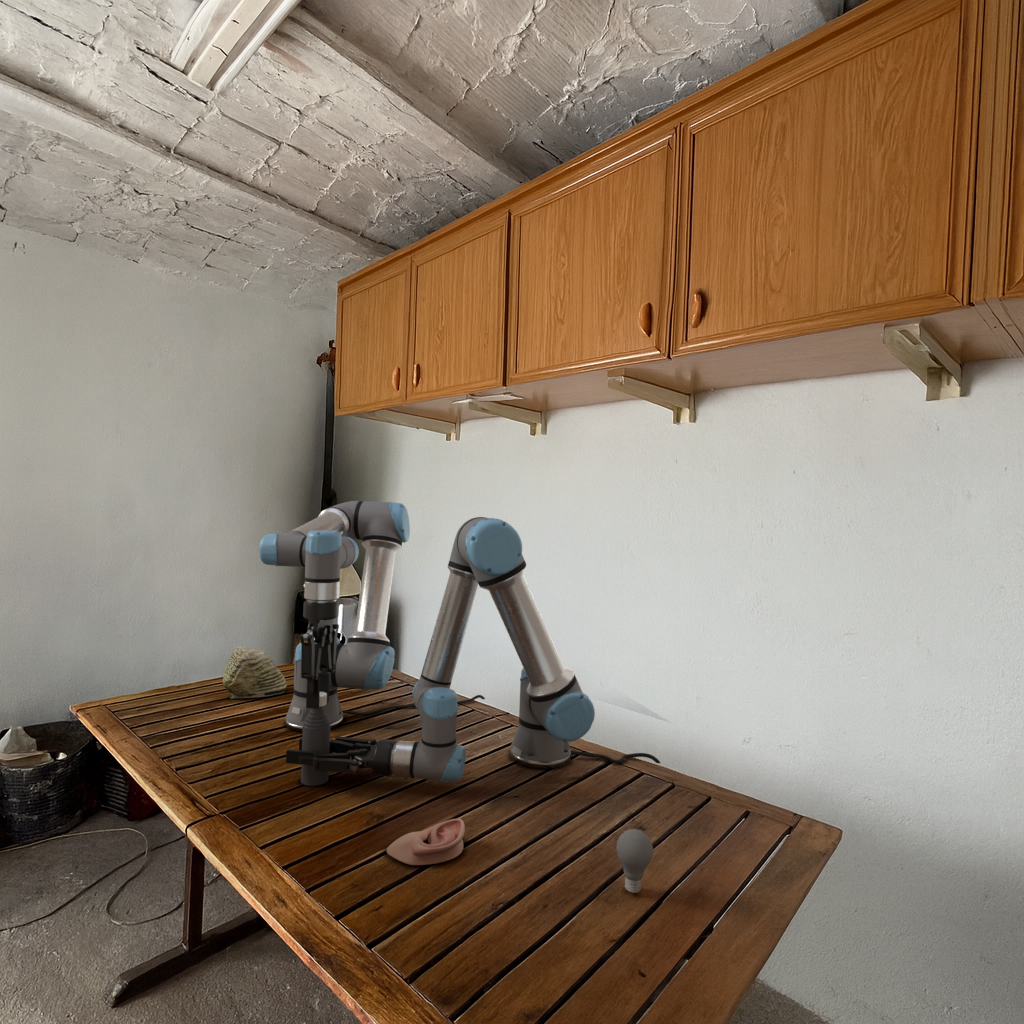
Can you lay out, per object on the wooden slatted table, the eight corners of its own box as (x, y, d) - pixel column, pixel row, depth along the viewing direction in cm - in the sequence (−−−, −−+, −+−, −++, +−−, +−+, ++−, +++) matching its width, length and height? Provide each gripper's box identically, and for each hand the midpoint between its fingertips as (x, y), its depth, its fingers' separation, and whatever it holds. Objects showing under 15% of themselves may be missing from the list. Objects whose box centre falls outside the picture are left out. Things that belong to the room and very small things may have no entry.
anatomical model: (380, 837, 111) (404, 807, 122) (379, 860, 111) (403, 827, 122) (452, 849, 108) (470, 817, 120) (451, 872, 108) (469, 838, 120)
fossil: (218, 695, 195) (220, 647, 195) (278, 685, 208) (279, 640, 207) (228, 703, 189) (230, 653, 188) (289, 692, 201) (290, 645, 201)
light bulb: (610, 879, 108) (613, 822, 108) (644, 879, 109) (647, 822, 109) (619, 902, 102) (622, 840, 102) (655, 901, 103) (658, 840, 103)
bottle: (333, 776, 144) (336, 694, 143) (319, 787, 138) (322, 702, 137) (310, 772, 145) (313, 691, 145) (295, 783, 139) (298, 699, 139)
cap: (306, 703, 142) (306, 693, 141) (323, 700, 144) (323, 690, 144) (311, 708, 138) (312, 697, 138) (329, 705, 141) (329, 695, 141)
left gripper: (324, 593, 150) (320, 692, 150) (285, 604, 133) (281, 715, 134) (353, 596, 148) (349, 695, 149) (318, 607, 132) (314, 719, 132)
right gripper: (381, 795, 130) (273, 785, 132) (404, 758, 149) (310, 750, 151) (382, 758, 130) (274, 750, 132) (406, 726, 149) (311, 719, 151)
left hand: (317, 704), depth 141 cm, fingers closed on cap, 4 cm apart
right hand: (293, 750), depth 142 cm, fingers closed on bottle, 6 cm apart
